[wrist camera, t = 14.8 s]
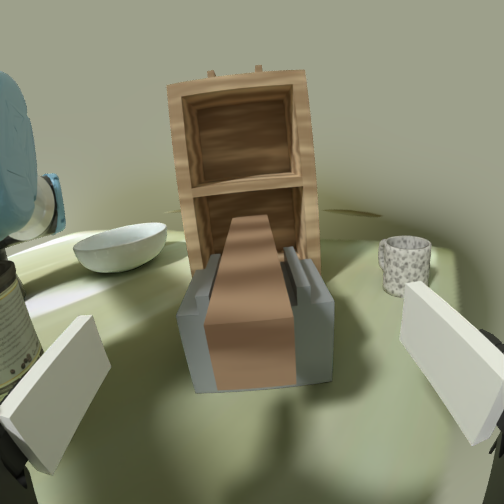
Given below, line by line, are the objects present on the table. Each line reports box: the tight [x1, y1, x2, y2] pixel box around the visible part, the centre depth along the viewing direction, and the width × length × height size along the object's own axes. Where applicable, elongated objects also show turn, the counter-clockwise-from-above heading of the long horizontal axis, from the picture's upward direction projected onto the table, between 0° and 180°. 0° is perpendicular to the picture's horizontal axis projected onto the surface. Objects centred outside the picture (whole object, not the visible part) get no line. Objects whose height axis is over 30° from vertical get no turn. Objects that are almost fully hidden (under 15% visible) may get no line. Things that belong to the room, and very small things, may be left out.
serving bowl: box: [73, 223, 167, 273], centre depth 63 cm, size 21×21×7 cm
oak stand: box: [167, 65, 321, 278], centre depth 47 cm, size 14×18×31 cm
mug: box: [378, 236, 431, 298], centre depth 41 cm, size 10×7×7 cm, turn 13°
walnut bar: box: [204, 214, 296, 391], centre depth 26 cm, size 24×4×4 cm, turn 0°
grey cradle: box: [176, 246, 334, 393], centre depth 29 cm, size 10×12×10 cm
